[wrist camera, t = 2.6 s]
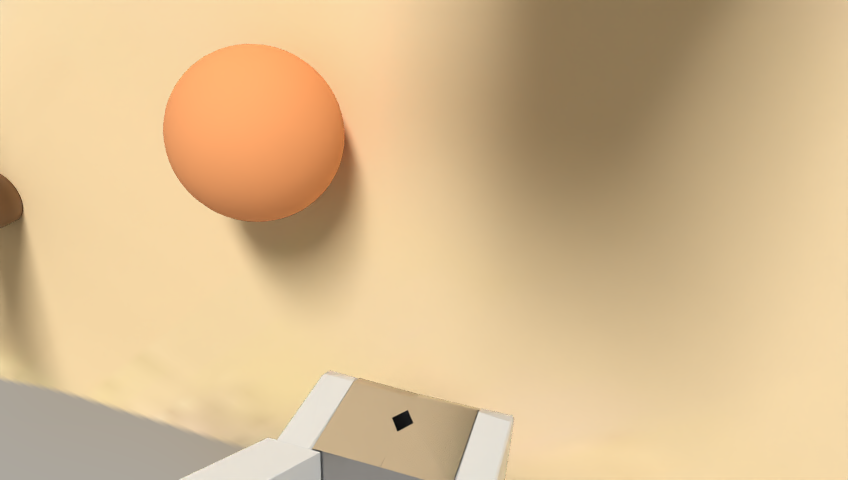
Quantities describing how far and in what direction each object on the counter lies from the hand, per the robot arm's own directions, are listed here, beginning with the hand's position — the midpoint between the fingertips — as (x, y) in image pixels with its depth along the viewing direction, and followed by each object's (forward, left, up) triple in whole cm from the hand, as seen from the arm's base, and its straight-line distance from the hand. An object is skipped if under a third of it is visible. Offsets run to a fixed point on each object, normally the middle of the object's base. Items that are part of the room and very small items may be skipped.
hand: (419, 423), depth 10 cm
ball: (+9, 0, -10) cm, 13 cm away
